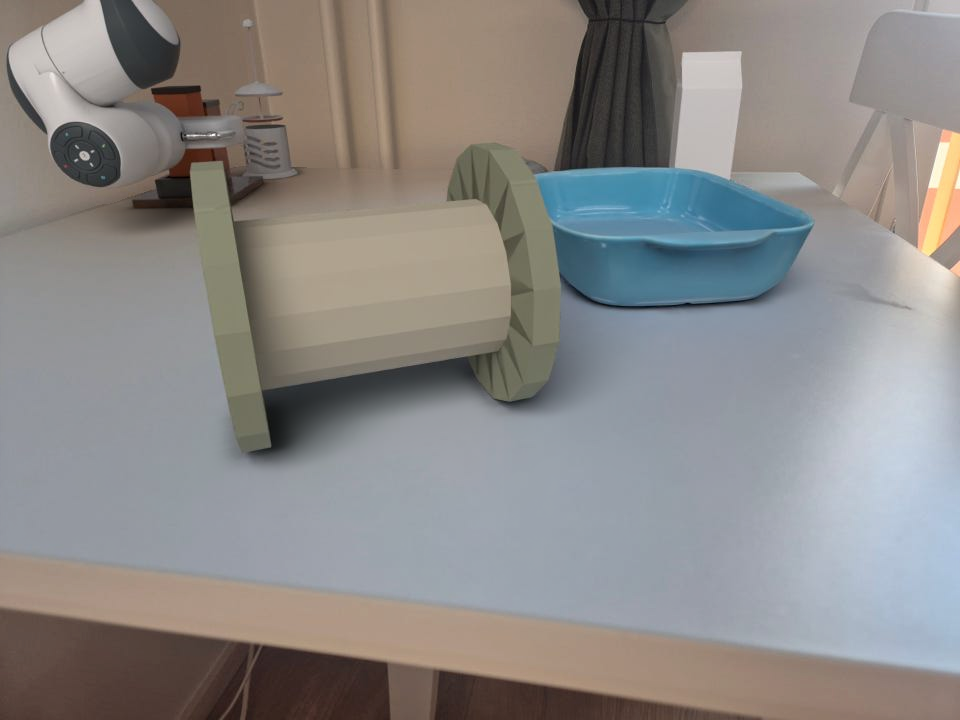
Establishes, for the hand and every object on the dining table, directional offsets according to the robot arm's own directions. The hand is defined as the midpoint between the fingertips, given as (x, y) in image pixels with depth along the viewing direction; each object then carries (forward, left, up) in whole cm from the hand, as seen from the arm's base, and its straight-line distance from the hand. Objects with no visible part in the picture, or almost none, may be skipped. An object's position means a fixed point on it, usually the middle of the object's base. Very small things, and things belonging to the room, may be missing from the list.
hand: (186, 126), depth 99 cm
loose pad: (0, -1, -6) cm, 7 cm away
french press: (+5, +20, -10) cm, 23 cm away
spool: (+35, -69, -10) cm, 78 cm away
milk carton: (+72, -14, -10) cm, 74 cm away
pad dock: (0, +2, -10) cm, 11 cm away
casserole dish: (+58, -40, -10) cm, 71 cm away
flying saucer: (+47, 0, -10) cm, 48 cm away
